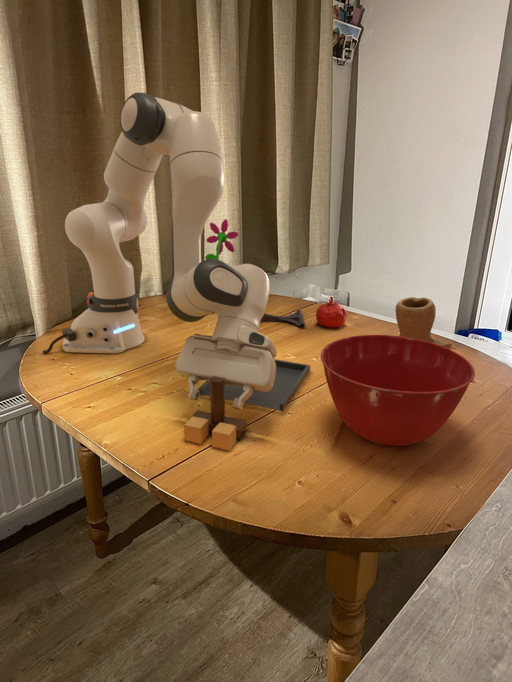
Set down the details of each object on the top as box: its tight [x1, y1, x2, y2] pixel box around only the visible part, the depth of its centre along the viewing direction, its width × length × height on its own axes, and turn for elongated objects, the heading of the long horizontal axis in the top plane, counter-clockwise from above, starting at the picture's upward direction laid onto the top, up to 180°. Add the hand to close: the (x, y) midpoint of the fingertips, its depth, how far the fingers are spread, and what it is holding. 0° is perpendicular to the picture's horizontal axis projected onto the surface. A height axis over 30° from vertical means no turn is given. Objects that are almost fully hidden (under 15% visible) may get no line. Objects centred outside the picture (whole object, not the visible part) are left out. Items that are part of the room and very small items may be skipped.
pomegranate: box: [315, 295, 348, 329], centre depth 158 cm, size 10×10×9 cm
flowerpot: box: [204, 218, 239, 260], centre depth 170 cm, size 14×14×30 cm
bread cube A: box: [211, 422, 237, 452], centre depth 95 cm, size 4×4×4 cm
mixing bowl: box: [320, 334, 476, 447], centre depth 99 cm, size 28×28×15 cm
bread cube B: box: [183, 415, 210, 445], centre depth 97 cm, size 4×4×4 cm
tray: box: [198, 358, 311, 412], centre depth 119 cm, size 22×20×2 cm
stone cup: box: [395, 296, 453, 350], centre depth 138 cm, size 15×12×15 cm
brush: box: [188, 376, 248, 442], centre depth 98 cm, size 11×4×12 cm, turn 69°
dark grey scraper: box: [260, 309, 306, 329], centre depth 162 cm, size 14×15×3 cm
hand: (214, 403), depth 96 cm, fingers open, 8 cm apart
